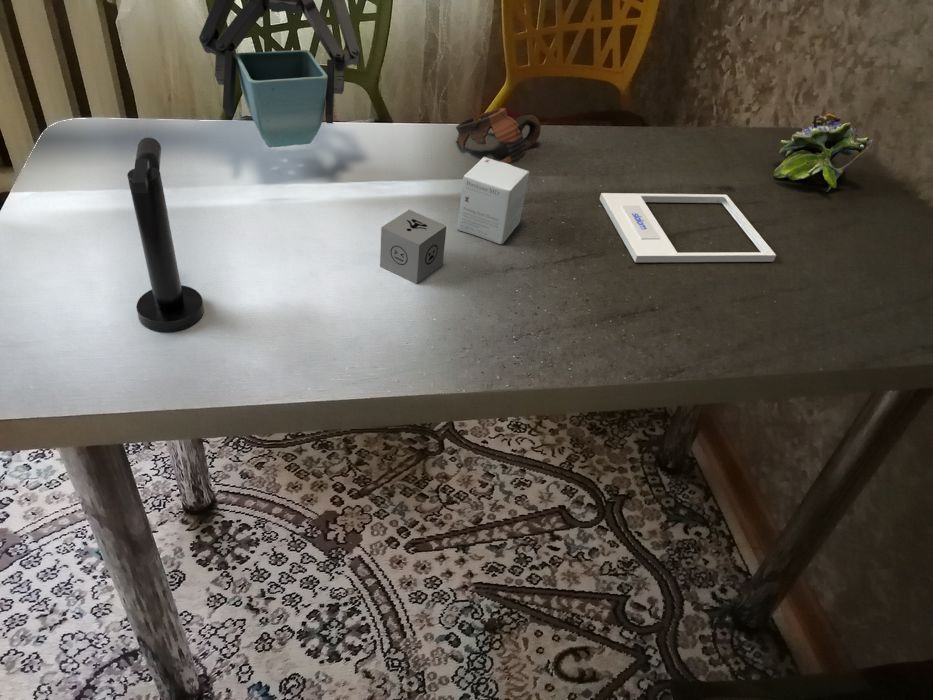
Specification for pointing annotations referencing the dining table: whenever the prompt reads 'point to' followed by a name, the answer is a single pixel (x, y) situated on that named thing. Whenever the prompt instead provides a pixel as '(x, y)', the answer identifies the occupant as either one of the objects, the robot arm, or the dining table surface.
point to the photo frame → (652, 241)
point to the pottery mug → (501, 132)
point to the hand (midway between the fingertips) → (279, 115)
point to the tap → (159, 249)
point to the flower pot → (283, 94)
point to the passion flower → (820, 149)
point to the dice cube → (412, 246)
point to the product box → (492, 200)
